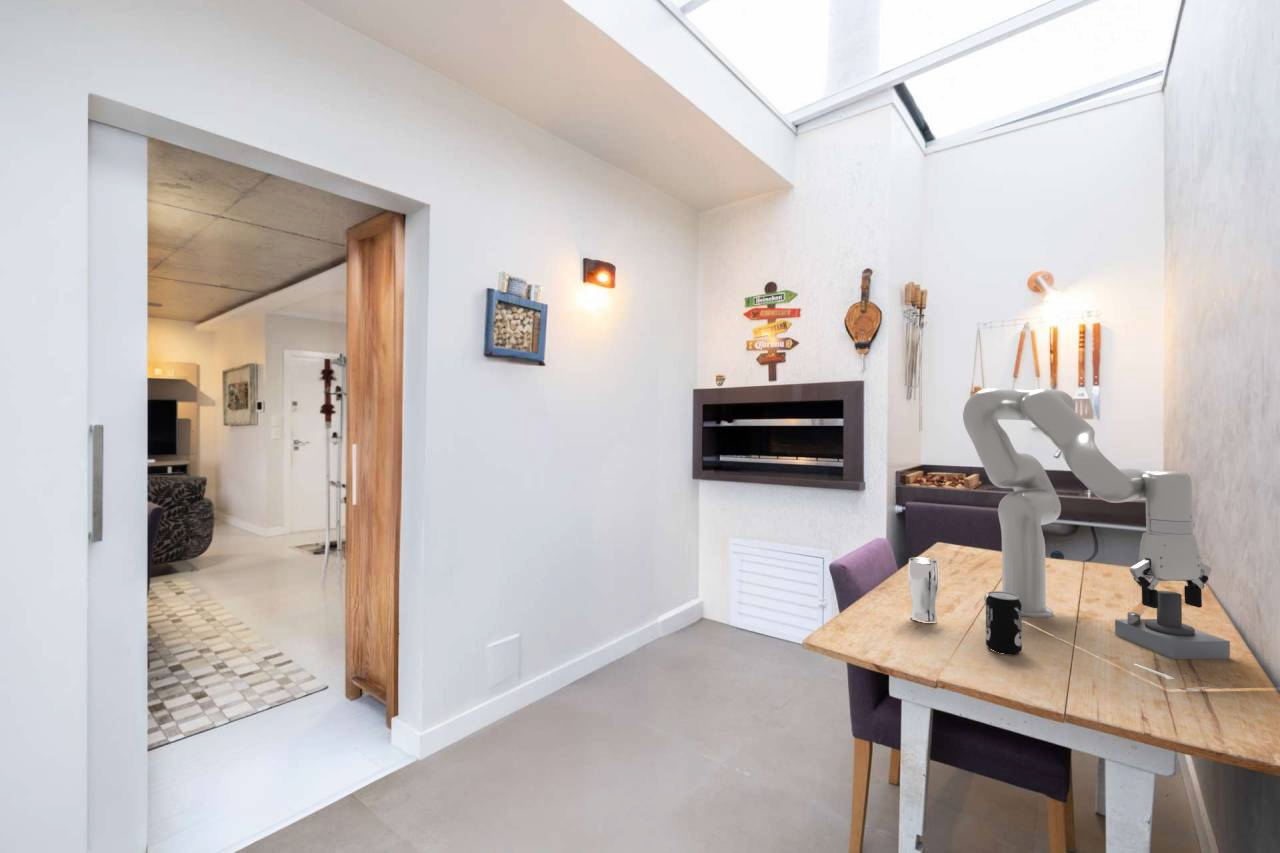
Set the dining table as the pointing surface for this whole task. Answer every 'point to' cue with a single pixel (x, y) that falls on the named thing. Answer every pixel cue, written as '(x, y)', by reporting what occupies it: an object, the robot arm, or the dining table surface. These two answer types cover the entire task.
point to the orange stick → (1136, 614)
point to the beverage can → (1004, 622)
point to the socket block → (1174, 642)
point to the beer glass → (923, 588)
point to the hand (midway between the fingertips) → (1171, 606)
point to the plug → (1169, 616)
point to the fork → (1170, 678)
